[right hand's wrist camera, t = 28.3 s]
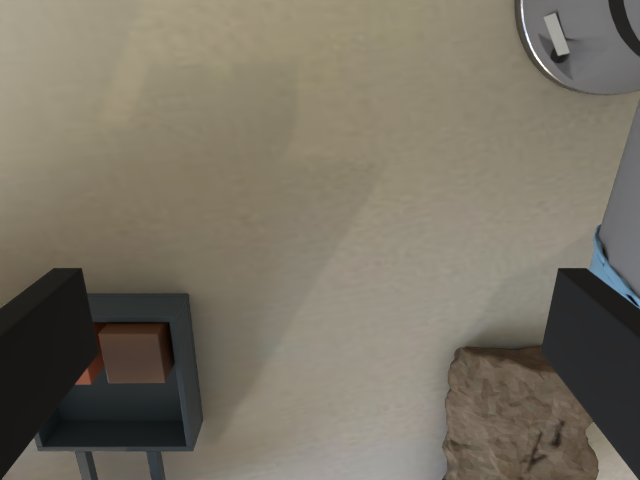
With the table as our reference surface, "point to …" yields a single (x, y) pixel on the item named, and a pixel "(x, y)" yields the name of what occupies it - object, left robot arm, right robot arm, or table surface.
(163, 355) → the walnut cube
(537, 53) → the right robot arm
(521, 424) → the stone
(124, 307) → the tray
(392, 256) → the table surface
